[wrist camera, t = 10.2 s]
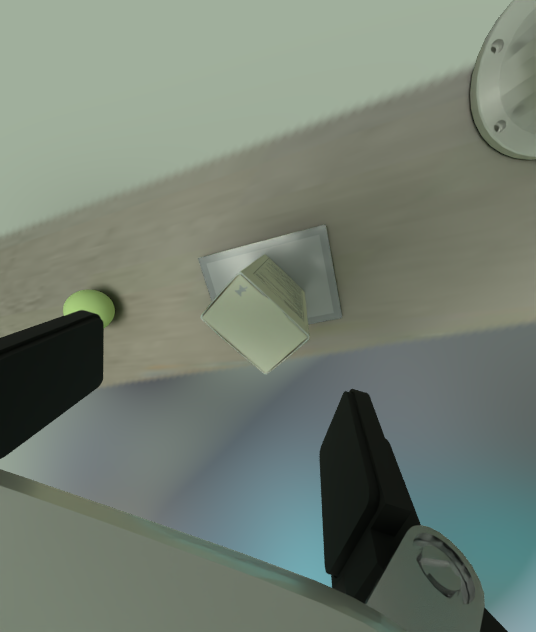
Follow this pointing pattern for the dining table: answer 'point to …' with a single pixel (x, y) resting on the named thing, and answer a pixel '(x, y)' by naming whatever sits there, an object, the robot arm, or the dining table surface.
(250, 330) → the skincare box
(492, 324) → the dining table surface
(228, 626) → the robot arm
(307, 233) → the metal tray
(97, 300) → the lime
